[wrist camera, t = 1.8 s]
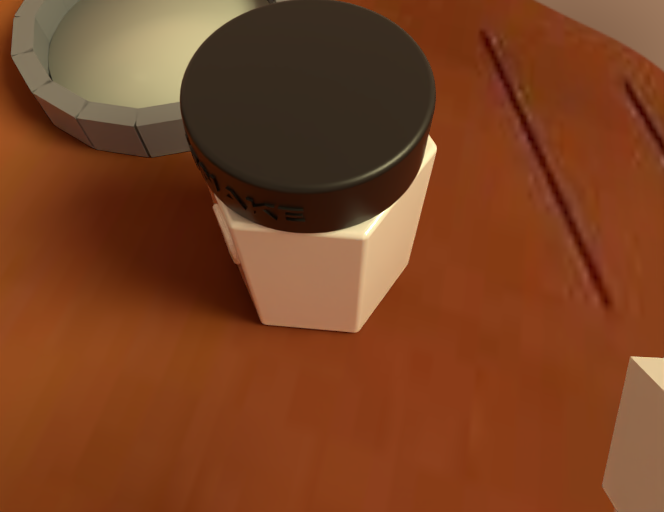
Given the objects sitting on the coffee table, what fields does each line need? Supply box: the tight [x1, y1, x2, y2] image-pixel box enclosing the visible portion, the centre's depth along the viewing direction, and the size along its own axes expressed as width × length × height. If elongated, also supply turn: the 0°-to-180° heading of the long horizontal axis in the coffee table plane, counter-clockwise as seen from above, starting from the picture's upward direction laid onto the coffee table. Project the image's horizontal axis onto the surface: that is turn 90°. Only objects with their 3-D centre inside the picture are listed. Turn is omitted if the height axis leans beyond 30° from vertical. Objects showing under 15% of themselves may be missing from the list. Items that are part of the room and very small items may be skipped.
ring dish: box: [11, 0, 288, 157], centre depth 34 cm, size 16×16×3 cm
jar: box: [180, 0, 437, 333], centre depth 23 cm, size 9×8×12 cm
